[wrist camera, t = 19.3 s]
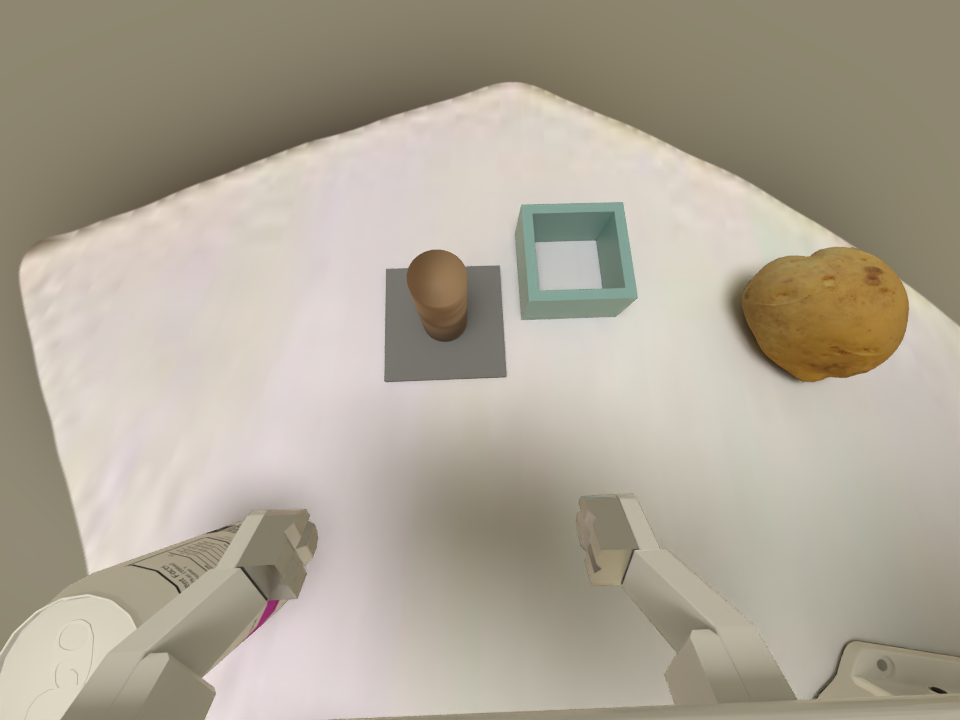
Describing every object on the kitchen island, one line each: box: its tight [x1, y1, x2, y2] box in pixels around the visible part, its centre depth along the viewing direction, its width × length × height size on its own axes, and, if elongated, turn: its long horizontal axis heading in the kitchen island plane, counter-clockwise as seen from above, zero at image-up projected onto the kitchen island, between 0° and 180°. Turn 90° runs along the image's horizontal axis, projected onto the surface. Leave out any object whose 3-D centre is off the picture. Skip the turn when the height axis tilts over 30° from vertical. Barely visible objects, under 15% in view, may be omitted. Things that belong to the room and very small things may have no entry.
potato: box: [742, 247, 909, 382], centre depth 32 cm, size 10×12×10 cm
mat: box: [384, 266, 506, 382], centre depth 36 cm, size 12×12×1 cm
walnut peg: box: [407, 250, 467, 342], centre depth 31 cm, size 4×4×10 cm
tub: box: [515, 202, 638, 320], centre depth 35 cm, size 10×10×5 cm
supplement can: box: [0, 520, 288, 720], centre depth 24 cm, size 8×8×15 cm
